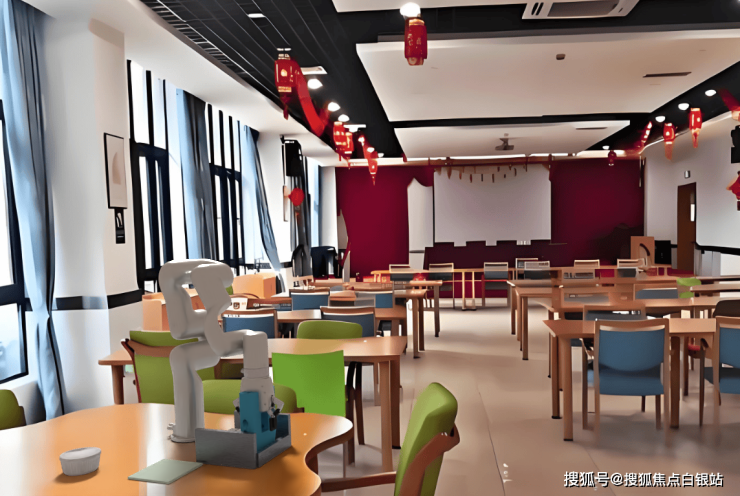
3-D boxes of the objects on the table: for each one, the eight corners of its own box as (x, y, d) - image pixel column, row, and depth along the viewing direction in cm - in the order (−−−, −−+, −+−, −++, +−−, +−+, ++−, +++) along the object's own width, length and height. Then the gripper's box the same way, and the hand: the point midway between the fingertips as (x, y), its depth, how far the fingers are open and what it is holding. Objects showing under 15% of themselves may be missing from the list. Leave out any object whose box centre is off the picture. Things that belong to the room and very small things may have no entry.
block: (253, 462, 182) (250, 394, 182) (240, 460, 184) (237, 393, 184) (278, 450, 192) (275, 385, 192) (265, 448, 195) (262, 384, 195)
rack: (196, 462, 183) (194, 429, 183) (237, 440, 204) (236, 409, 204) (256, 469, 176) (254, 434, 176) (292, 445, 197) (291, 413, 197)
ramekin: (90, 461, 189) (90, 444, 189) (109, 468, 182) (108, 450, 182) (53, 472, 180) (52, 454, 180) (70, 480, 173) (70, 461, 173)
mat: (127, 479, 172) (127, 476, 172) (163, 460, 186) (163, 458, 186) (168, 484, 167) (168, 481, 167) (202, 465, 181) (202, 463, 181)
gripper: (225, 374, 188) (227, 430, 188) (275, 376, 182) (278, 434, 182) (239, 369, 195) (241, 424, 195) (287, 371, 189) (290, 427, 189)
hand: (259, 429), depth 188 cm, fingers open, 9 cm apart
